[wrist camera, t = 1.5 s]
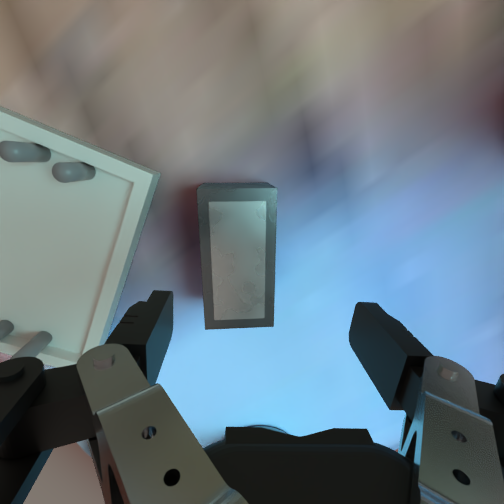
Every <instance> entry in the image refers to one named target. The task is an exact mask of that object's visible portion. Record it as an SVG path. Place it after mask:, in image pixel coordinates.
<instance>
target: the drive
mask: <svg viewBox="0 0 504 504" xmlns="http://www.w3.org/2000/svg"><path fill="white" fill-rule="evenodd" d="M197 204H198V220H199V237H200V253H201V269H202V285H203V302H204V318H205V330H206V329H229V328H252V327H274V292H275V254H276V216H277V188H276V187H274V186H273V185H271V184H269V183H203V184H202V185H200V186H199V187H198V188H197Z"/></svg>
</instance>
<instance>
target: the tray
mask: <svg viewBox="0 0 504 504" xmlns="http://www.w3.org/2000/svg"><path fill="white" fill-rule="evenodd" d="M160 174H161V173H159V172H156V171H154V170H151V169H149V168H147V167H144V166H142V165H140V164H137V163H135V162H132V161H130V160H128V159H125V158H123V157H120V156H118V155H116V154H113V153H111V152H108V151H106V150H104V149H101V148H99V147H97V146H94V145H92V144H89V143H87V142H85V141H82V140H80V139H77V138H75V137H73V136H70V135H68V134H66V133H63V132H61V131H58V130H56V129H54V128H51V127H49V126H46V125H44V124H42V123H39V122H37V121H34V120H32V119H30V118H27V117H25V116H23V115H20V114H18V113H15V112H13V111H11V110H8V109H6V108H3V107H1V106H0V352H1V353H5V354H8V355H12V357H11V358H10V359H14V358H18V357H36V358H39V359H40V360H41V361H42V362H43V364H46V365H50V366H53V367H57V368H58V367H63V366H69V365H73V364H77V361H78V359H79V358H80V357H81V356H82V355H83V354H84V353H85V352H86V351H88V350H90V349H92V348H94V347H97V346H100V345H104V343H105V342H106V340H107V337H108V334H109V331H110V328H111V325H112V321H113V318H114V315H115V312H116V309H117V306H118V303H119V300H120V297H121V294H122V291H123V288H124V285H125V282H126V278H127V275H128V272H129V269H130V266H131V263H132V260H133V257H134V254H135V251H136V248H137V245H138V242H139V239H140V235H141V232H142V229H143V226H144V223H145V220H146V217H147V214H148V211H149V208H150V205H151V202H152V199H153V196H154V192H155V189H156V186H157V183H158V180H159V177H160Z"/></svg>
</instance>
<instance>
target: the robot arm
mask: <svg viewBox="0 0 504 504" xmlns="http://www.w3.org/2000/svg"><path fill="white" fill-rule="evenodd" d="M172 331H173V292H172V291H159V290H154V291H153V292H152V294H151V296H150V297H149V299H148V300H147V302H143V301H139V302H137V303H136V304H134V305H133V306H131V307H130V308H129V309H128V310H127V312H126V313H125V315H124V317H123V318H122V319H121V320H120V323H118V325H117V326H116V328H115V329H114V330H113V332H112V333H111V335H110V336H109V338H108V339H107V341H106V342H105V343H104V345H100V346H97V347H94V348H92V349H90V350H88V351H86V352H85V353H84V354H83V355H82V356H81V357H80V358H79V359H78V361H77V364H73V365H69V366H63V367H58V368H52V369H47V370H44V365H43V362H42V361H41V360H40V359H39V358H36V357H18V358H14V359H10V360H7V361H4V362H1V363H0V504H23V502H24V501H25V499H26V497H27V495H28V493H29V492H30V490H31V488H32V486H33V484H34V483H35V481H36V479H37V477H38V475H39V474H40V472H41V470H42V468H43V466H44V465H45V463H46V461H47V459H48V457H49V456H50V454H51V452H52V450H53V448H57V447H60V446H64V445H67V444H71V443H75V442H78V441H82V440H86V439H87V443H88V446H89V449H90V453H91V456H92V459H93V463H94V466H95V469H96V473H97V476H98V479H99V483H100V486H101V489H102V493H103V497H104V501H105V504H504V374H502V375H501V376H500V378H499V380H498V382H497V384H496V385H494V384H490V383H486V382H482V381H478V380H474V377H473V376H472V374H471V373H470V372H469V371H468V370H467V369H465V368H464V367H463V366H461V365H459V364H458V363H456V362H454V361H452V360H449V359H447V358H443V357H439V356H433V355H432V354H431V353H430V352H429V351H428V350H427V349H426V348H425V347H424V346H423V345H422V344H421V343H420V342H419V341H418V340H417V339H416V338H415V337H413V335H412V334H411V333H410V332H409V331H407V329H406V328H405V327H404V325H403V324H402V323H401V322H400V321H398V320H396V319H395V318H393V317H392V316H390V315H388V314H387V313H386V312H385V311H384V310H383V309H382V308H381V307H380V306H379V305H378V304H377V303H370V302H358V303H357V304H356V306H355V310H354V314H353V318H352V322H351V327H350V331H349V342H350V345H351V347H352V349H353V351H354V352H355V354H356V356H357V357H358V359H359V361H360V362H361V364H362V365H363V367H364V369H365V370H366V372H367V374H368V375H369V377H370V379H371V380H372V382H373V384H374V385H375V387H376V388H377V390H378V392H379V393H380V395H381V397H382V398H383V400H384V402H385V403H386V405H387V406H388V408H389V410H404V411H405V412H406V415H405V418H404V420H403V426H402V432H401V438H400V444H399V450H398V452H396V451H394V450H392V449H390V448H388V447H386V446H383V445H380V444H378V443H374V442H373V440H372V438H371V436H370V434H369V432H368V430H367V429H343V428H333V429H329V430H325V431H322V432H318V433H314V434H310V435H307V436H302V437H298V436H293V435H290V434H287V433H285V432H283V431H282V430H279V429H276V428H273V427H267V426H256V427H226V431H225V440H222V441H218V442H216V443H213V444H211V445H208V446H207V447H205V448H202V447H201V445H200V444H199V442H198V441H197V439H196V437H195V436H194V434H193V433H192V431H191V430H190V428H189V427H188V425H187V424H186V422H185V421H184V419H183V418H182V416H181V415H180V413H179V412H178V410H177V409H176V407H175V406H174V404H173V403H172V401H171V400H170V398H169V397H168V395H167V393H166V392H165V390H164V389H163V388H162V386H161V385H160V384H158V383H157V384H155V383H156V380H157V377H158V374H159V372H160V369H161V366H162V363H163V360H164V357H165V354H166V352H167V349H168V346H169V343H170V340H171V337H172Z"/></svg>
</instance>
